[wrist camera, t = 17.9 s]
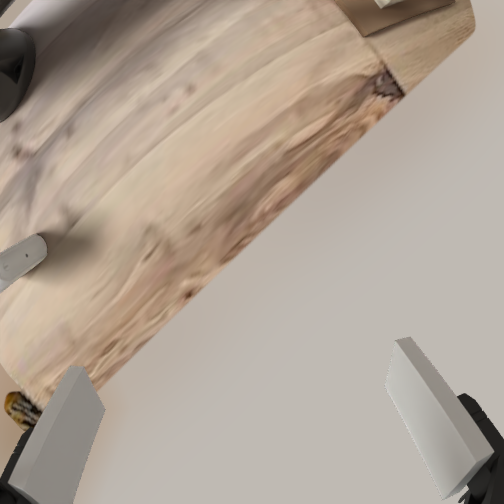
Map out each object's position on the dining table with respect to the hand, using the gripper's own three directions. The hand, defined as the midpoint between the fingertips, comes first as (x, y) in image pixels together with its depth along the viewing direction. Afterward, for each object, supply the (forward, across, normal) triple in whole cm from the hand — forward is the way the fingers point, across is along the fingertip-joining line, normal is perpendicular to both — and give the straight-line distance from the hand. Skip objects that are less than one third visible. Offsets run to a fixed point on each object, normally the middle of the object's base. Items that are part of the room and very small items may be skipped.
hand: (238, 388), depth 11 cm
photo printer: (+27, -32, -1) cm, 42 cm away
